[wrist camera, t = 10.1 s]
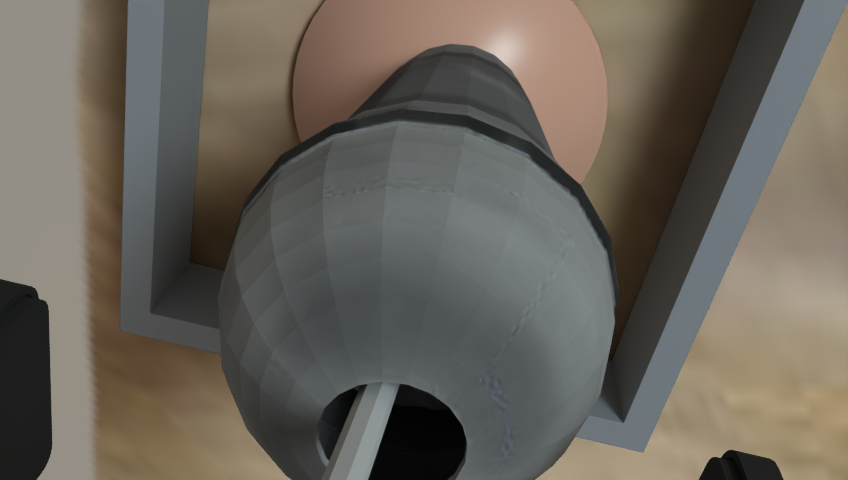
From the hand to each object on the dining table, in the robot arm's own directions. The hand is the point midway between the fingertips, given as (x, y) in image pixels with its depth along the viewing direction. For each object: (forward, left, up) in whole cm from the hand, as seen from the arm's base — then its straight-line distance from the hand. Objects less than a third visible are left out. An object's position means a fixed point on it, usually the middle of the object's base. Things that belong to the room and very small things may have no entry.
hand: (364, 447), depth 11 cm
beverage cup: (0, 0, -16) cm, 16 cm away
